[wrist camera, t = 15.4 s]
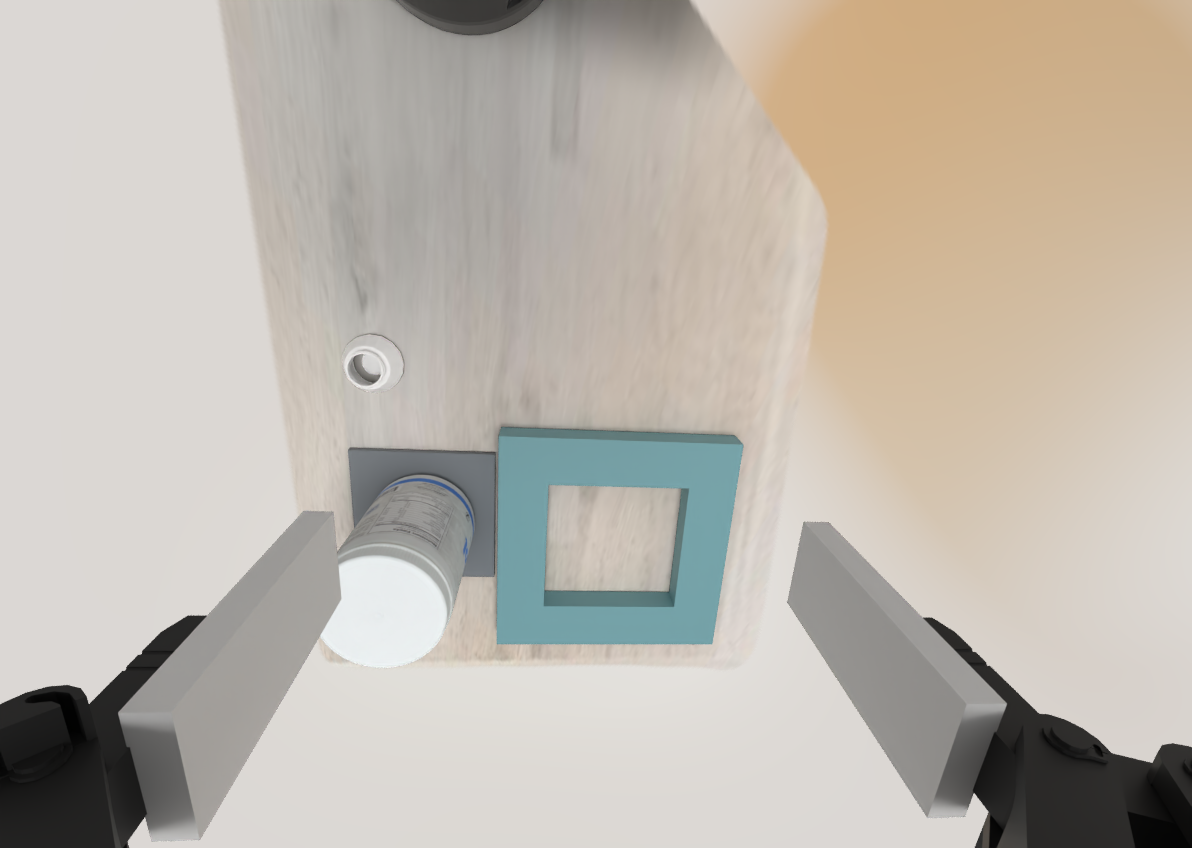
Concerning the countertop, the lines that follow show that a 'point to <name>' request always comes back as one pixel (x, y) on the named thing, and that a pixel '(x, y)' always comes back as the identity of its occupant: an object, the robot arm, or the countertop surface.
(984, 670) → the robot arm
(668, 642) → the holder frame
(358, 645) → the supplement tub
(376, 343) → the white jar
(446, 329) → the countertop surface
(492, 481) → the slate mat
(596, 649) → the countertop surface
